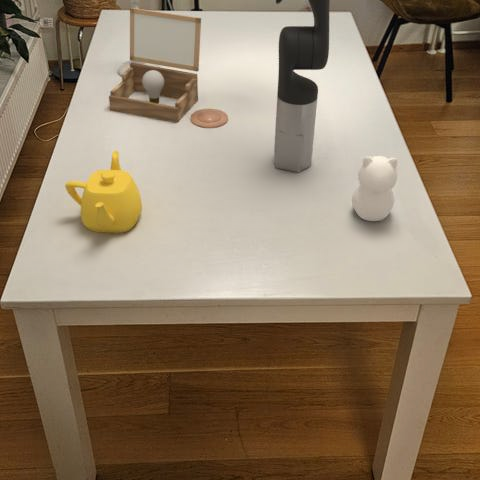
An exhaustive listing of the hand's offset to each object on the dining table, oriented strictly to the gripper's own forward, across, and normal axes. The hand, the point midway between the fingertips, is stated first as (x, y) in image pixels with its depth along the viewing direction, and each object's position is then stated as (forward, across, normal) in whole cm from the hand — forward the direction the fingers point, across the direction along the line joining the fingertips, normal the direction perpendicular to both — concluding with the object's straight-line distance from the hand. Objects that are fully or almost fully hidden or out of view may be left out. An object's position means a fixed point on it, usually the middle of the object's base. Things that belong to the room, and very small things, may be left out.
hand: (263, 0), depth 184 cm
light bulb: (+27, -24, -18) cm, 40 cm away
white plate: (+27, -39, +1) cm, 47 cm away
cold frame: (+27, -24, -18) cm, 40 cm away
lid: (+11, -25, -10) cm, 29 cm away
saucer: (+27, -7, -19) cm, 34 cm away
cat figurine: (+27, +43, -44) cm, 67 cm away
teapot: (+27, -10, -69) cm, 75 cm away
